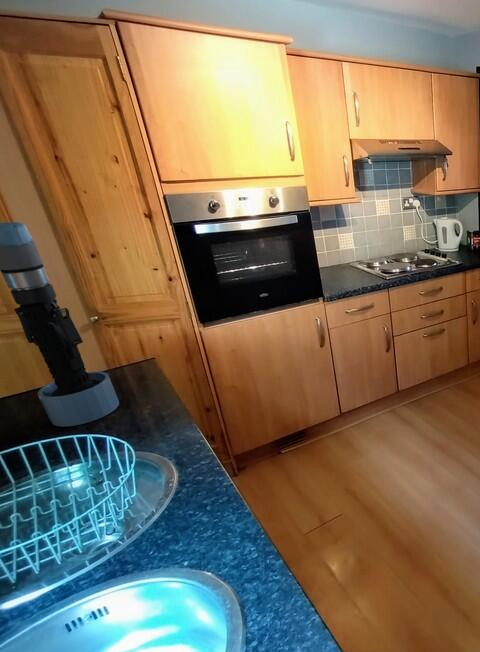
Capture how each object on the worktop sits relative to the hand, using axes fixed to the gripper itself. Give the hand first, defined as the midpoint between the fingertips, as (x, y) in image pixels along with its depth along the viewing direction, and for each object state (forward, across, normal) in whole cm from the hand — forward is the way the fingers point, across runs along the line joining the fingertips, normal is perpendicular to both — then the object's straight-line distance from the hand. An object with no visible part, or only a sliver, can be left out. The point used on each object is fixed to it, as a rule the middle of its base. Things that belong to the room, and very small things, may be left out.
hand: (66, 367), depth 122 cm
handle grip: (+7, 0, 0) cm, 7 cm away
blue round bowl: (+14, 0, 0) cm, 14 cm away
